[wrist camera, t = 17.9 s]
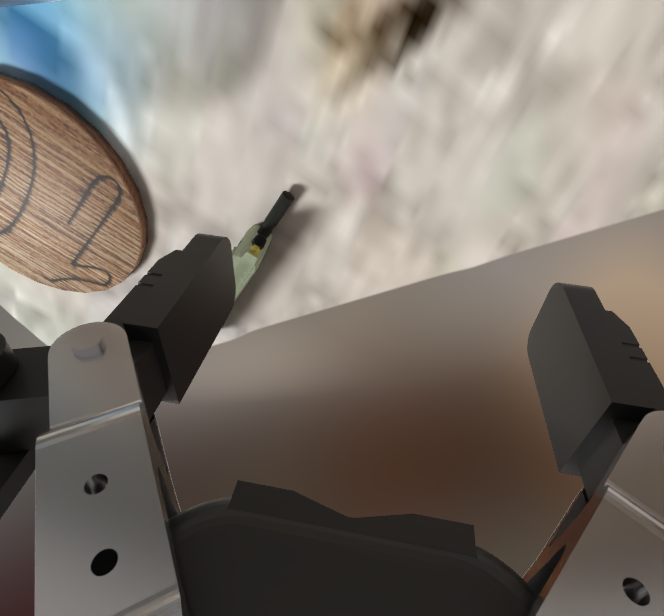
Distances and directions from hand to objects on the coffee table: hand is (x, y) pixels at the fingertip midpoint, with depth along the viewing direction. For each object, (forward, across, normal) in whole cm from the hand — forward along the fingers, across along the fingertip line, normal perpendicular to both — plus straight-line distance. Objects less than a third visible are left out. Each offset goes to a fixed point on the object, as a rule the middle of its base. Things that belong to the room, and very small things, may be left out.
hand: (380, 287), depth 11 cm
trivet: (+31, +39, +16) cm, 52 cm away
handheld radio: (+31, +16, +22) cm, 41 cm away
